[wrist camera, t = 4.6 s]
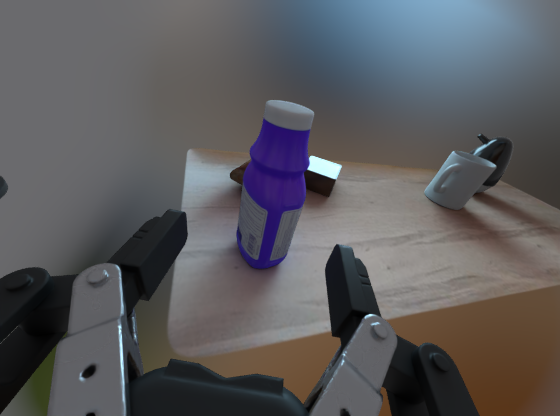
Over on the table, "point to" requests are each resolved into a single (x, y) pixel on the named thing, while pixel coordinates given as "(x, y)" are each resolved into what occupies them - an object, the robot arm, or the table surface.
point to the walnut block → (321, 175)
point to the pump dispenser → (494, 157)
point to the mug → (459, 179)
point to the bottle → (274, 184)
